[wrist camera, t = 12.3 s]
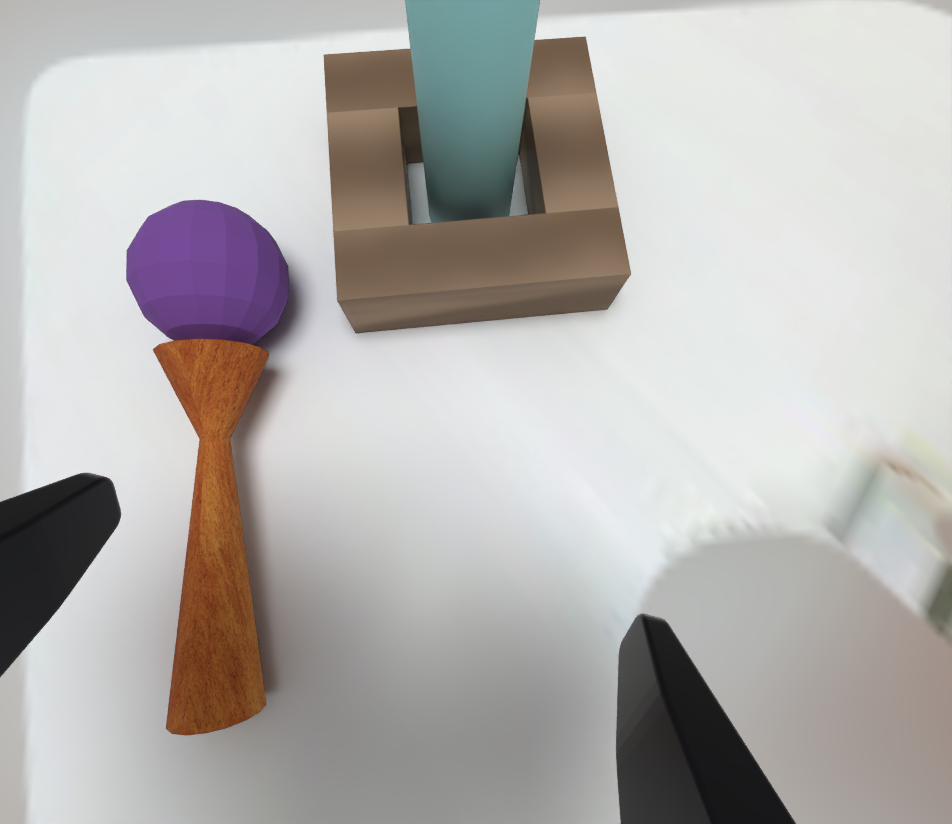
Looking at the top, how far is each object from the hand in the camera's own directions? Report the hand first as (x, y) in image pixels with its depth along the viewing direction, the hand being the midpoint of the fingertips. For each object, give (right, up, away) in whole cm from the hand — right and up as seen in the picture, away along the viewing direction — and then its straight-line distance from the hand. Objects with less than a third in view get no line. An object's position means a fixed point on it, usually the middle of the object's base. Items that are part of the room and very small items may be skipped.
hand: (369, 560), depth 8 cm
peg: (+1, +13, +17) cm, 21 cm away
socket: (+1, +13, +17) cm, 21 cm away
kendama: (-9, +1, +14) cm, 17 cm away
